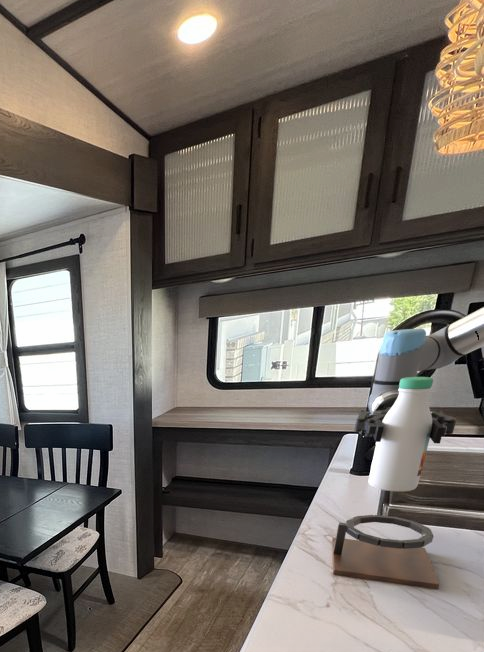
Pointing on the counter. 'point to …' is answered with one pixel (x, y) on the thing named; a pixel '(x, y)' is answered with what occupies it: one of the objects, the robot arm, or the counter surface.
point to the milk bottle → (403, 438)
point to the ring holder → (384, 554)
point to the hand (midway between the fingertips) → (408, 434)
